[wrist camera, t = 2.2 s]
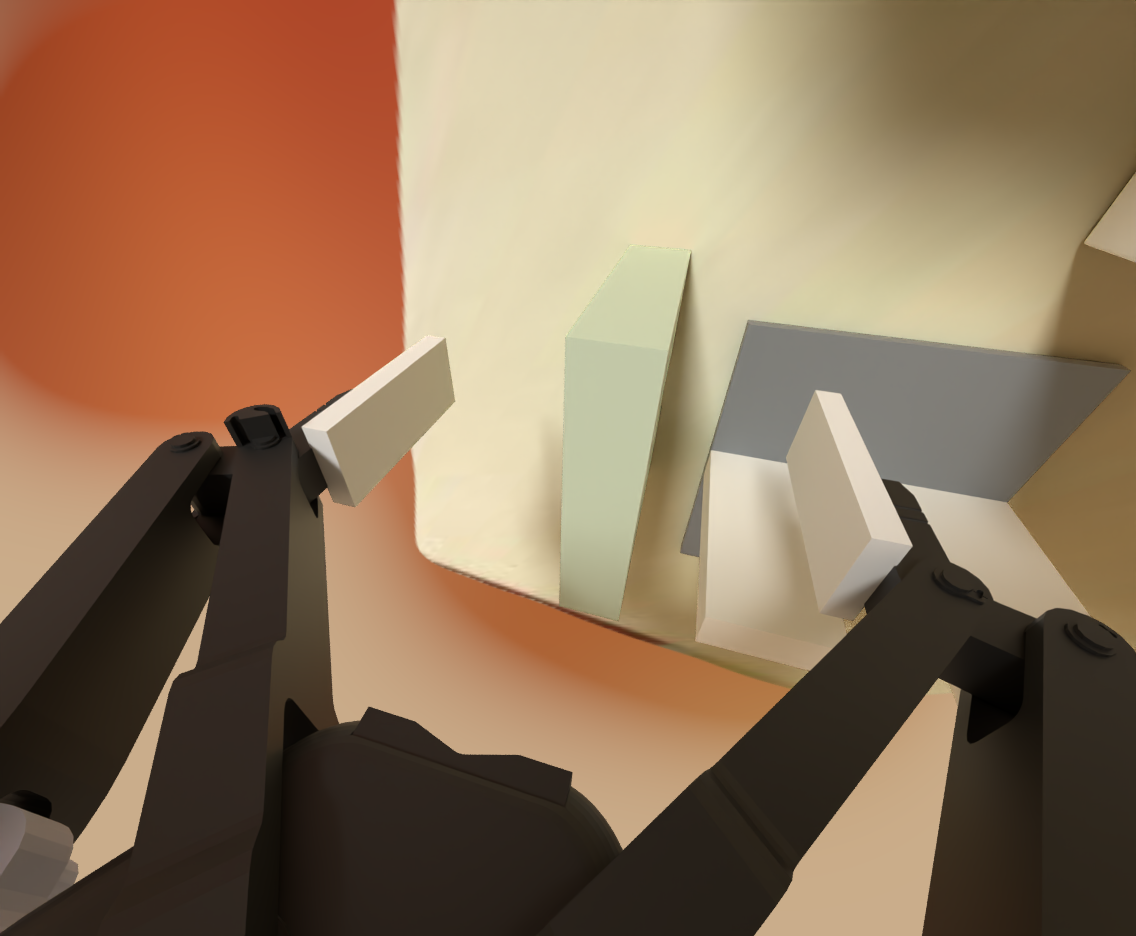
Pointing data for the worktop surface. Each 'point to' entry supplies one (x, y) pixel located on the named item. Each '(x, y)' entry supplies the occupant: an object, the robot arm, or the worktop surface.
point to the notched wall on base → (899, 452)
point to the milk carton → (1118, 226)
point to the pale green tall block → (614, 421)
